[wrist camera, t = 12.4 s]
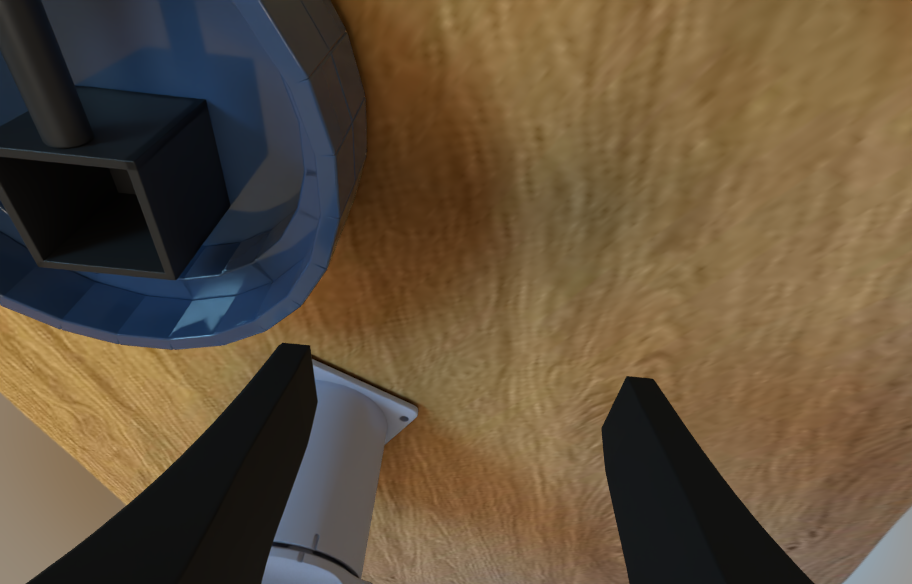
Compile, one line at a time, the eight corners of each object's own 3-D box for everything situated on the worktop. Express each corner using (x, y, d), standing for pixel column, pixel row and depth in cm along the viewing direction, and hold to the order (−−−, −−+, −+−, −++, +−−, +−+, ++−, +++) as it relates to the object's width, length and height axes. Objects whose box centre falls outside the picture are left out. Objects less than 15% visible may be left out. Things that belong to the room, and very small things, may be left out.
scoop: (231, 206, 20) (176, 281, 16) (117, 194, 20) (38, 267, 16) (175, -33, 15) (78, 2, 11) (20, -51, 14) (-127, -21, 11)
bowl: (274, 316, 25) (236, 400, 21) (-101, 138, 19) (-245, 208, 15) (455, 42, 16) (445, 100, 12) (-125, -408, 11) (-453, -548, 7)
